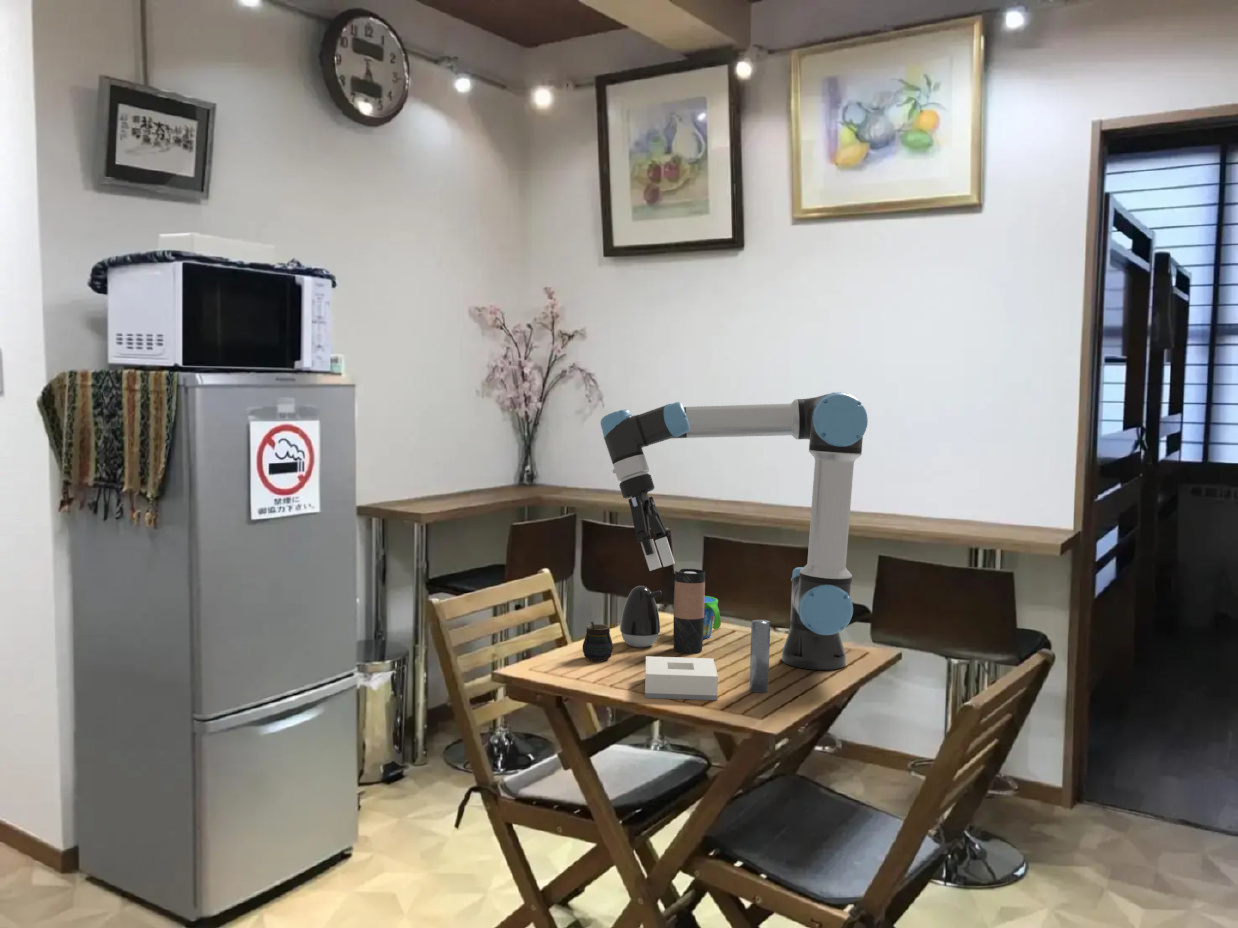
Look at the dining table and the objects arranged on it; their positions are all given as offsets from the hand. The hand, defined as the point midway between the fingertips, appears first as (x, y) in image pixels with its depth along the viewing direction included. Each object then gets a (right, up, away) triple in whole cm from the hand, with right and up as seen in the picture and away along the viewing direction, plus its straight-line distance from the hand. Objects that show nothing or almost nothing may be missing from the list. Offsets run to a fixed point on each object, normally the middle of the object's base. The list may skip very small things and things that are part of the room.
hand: (662, 567), depth 225 cm
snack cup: (+11, -23, +41) cm, 48 cm away
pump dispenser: (-4, -23, +30) cm, 38 cm away
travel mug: (+7, -24, +25) cm, 35 cm away
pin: (+20, -26, -9) cm, 34 cm away
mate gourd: (-15, -24, +14) cm, 31 cm away
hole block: (+3, -25, -9) cm, 27 cm away
